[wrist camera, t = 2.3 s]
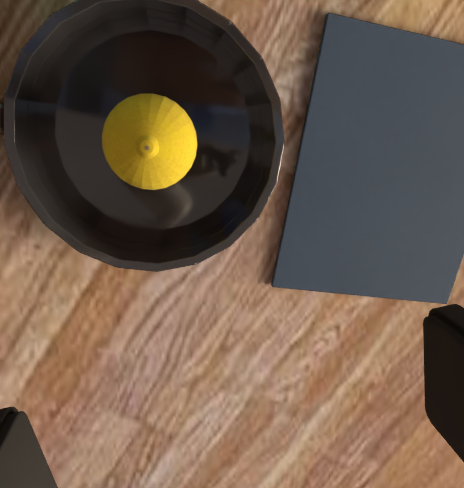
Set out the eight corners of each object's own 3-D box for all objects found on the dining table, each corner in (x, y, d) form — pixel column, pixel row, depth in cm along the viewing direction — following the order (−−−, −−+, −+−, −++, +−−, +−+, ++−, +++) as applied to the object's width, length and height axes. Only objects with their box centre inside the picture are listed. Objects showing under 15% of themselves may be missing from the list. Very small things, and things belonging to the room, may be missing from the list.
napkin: (271, 285, 33) (272, 287, 32) (326, 13, 27) (328, 12, 27) (444, 302, 36) (447, 304, 35) (525, 60, 30) (529, 59, 30)
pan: (27, 236, 29) (2, 256, 25) (33, -19, 24) (4, -47, 20) (246, 260, 32) (258, 282, 28) (287, 37, 27) (308, 22, 23)
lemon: (98, 154, 28) (70, 167, 20) (136, 80, 27) (121, 65, 19) (169, 193, 29) (169, 220, 22) (208, 125, 28) (221, 127, 20)
